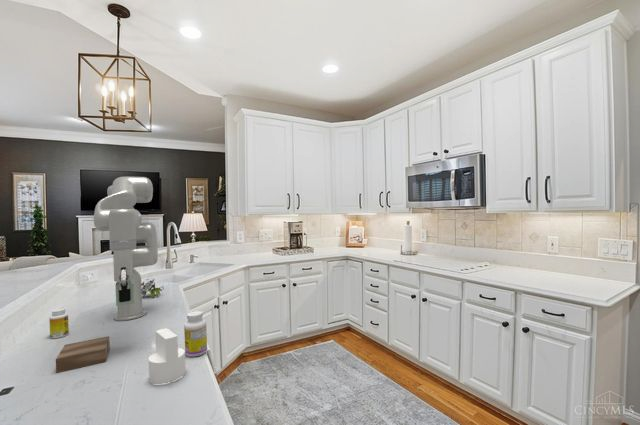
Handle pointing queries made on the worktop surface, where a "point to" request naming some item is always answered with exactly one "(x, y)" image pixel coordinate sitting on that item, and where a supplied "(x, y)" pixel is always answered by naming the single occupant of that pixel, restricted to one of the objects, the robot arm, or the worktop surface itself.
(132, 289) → the sage block
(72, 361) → the walnut base
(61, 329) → the supplement bottle
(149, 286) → the passion flower
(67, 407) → the worktop surface
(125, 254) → the robot arm
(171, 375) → the base with upright slab
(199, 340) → the supplement bottle
